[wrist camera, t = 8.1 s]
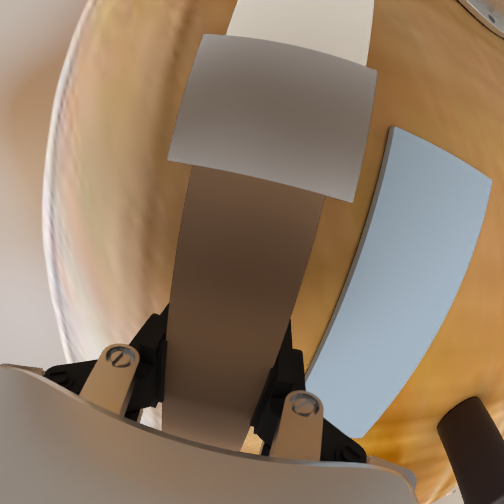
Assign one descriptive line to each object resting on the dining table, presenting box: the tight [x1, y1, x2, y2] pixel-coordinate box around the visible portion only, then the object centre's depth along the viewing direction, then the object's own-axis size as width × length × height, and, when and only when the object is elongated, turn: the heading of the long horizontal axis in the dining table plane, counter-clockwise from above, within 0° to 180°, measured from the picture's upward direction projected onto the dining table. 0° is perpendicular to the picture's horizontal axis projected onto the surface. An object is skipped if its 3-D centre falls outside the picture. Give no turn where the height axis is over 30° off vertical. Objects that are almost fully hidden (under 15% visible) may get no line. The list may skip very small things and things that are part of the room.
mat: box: [305, 126, 492, 438], centre depth 17 cm, size 26×9×1 cm, turn 167°
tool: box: [162, 34, 378, 452], centre depth 10 cm, size 22×5×4 cm, turn 167°
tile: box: [226, 0, 374, 66], centre depth 12 cm, size 2×8×11 cm
